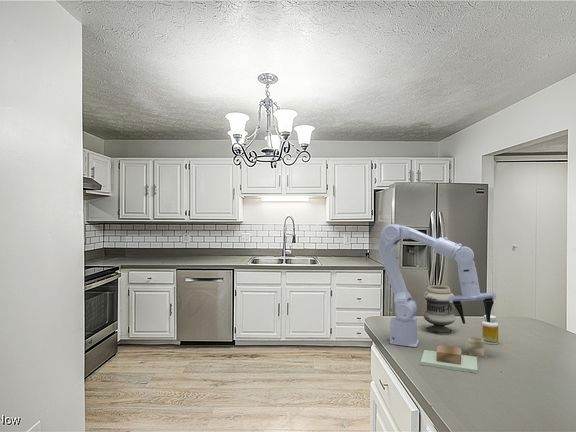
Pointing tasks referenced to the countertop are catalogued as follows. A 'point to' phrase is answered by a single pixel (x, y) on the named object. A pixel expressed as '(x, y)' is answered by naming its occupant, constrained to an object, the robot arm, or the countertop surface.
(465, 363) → the baseplate
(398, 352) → the countertop surface
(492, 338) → the supplement bottle
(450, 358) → the base block
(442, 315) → the apothecary jar
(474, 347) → the maple brick
